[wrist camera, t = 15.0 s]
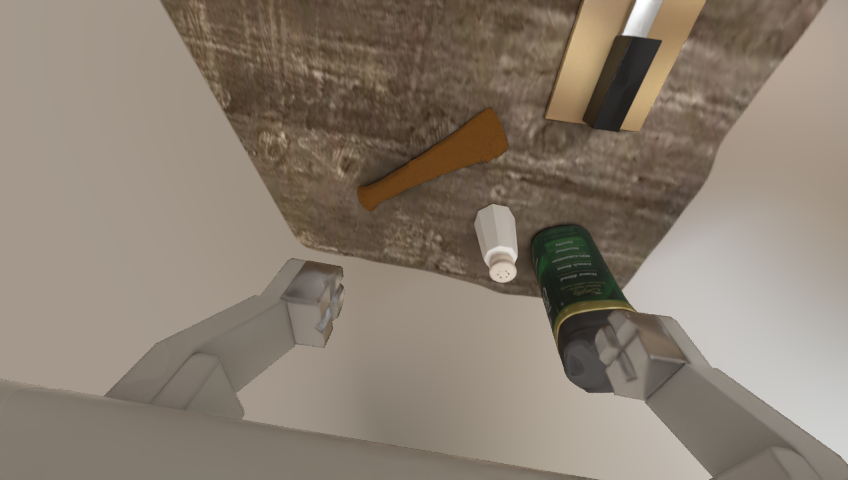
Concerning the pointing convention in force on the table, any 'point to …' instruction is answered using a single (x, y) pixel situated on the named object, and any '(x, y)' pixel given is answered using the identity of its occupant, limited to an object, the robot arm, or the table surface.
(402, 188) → the primitive tool
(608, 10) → the cutting board
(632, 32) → the knife
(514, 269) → the pepper shaker
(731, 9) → the table surface
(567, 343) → the coffee jar
